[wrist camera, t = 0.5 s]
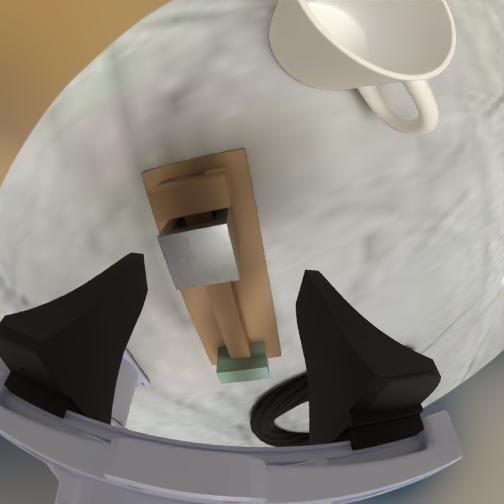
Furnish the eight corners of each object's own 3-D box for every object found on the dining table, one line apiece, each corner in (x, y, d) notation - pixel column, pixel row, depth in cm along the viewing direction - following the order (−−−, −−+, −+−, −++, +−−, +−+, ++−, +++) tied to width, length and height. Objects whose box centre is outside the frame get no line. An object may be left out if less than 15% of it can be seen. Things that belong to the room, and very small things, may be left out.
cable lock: (218, 442, 36) (357, 340, 24) (219, 423, 39) (346, 315, 28) (334, 454, 44) (451, 377, 32) (331, 440, 47) (443, 361, 36)
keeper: (187, 256, 22) (176, 289, 18) (173, 211, 20) (157, 237, 16) (239, 247, 22) (239, 279, 18) (229, 200, 20) (226, 223, 16)
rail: (212, 361, 30) (210, 389, 26) (143, 171, 19) (123, 185, 16) (280, 352, 29) (285, 380, 26) (244, 148, 19) (245, 155, 15)
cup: (332, -12, 12) (387, -69, 3) (410, 107, 17) (500, 119, 8) (244, 26, 14) (248, -42, 5) (334, 151, 19) (406, 185, 10)
